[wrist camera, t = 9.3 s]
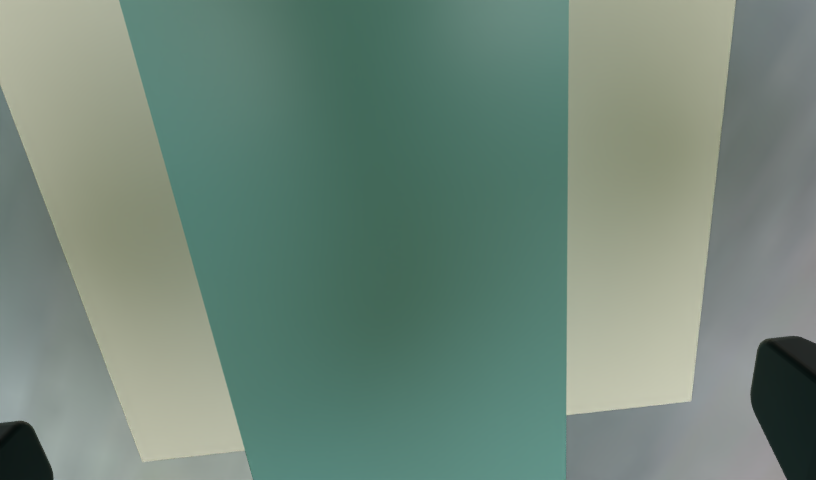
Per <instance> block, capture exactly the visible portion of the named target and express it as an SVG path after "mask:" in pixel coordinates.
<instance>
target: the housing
mask: <svg viewBox="0 0 816 480" xmlns="http://www.w3.org/2000/svg"><path fill="white" fill-rule="evenodd" d="M119 2H120V6H121V9H122V13H123V16H124V20H125V23H126V27H127V31H128V34H129V38H130V41H131V45H132V48H133V52H134V56H135V59H136V63H137V66H138V70H139V73H140V77H141V81H142V84H143V88H144V91H145V95H146V98H147V102H148V106H149V109H150V113H151V116H152V120H153V123H154V127H155V131H156V134H157V138H158V141H159V145H160V148H161V152H162V156H163V159H164V163H165V166H166V170H167V173H168V177H169V181H170V184H171V188H172V191H173V195H174V198H175V202H176V206H177V209H178V213H179V216H180V220H181V223H182V227H183V231H184V234H185V238H186V241H187V245H188V248H189V252H190V256H191V259H192V263H193V266H194V270H195V274H196V277H197V281H198V284H199V288H200V291H201V295H202V299H203V302H204V306H205V309H206V313H207V316H208V320H209V324H210V327H211V331H212V334H213V338H214V341H215V345H216V349H217V352H218V356H219V359H220V363H221V366H222V370H223V374H224V377H225V381H226V384H227V388H228V391H229V395H230V399H231V402H232V406H233V409H234V413H235V416H236V420H237V424H238V427H239V431H240V434H241V438H242V441H243V445H244V449H245V452H246V456H247V459H248V463H249V466H250V470H251V474H252V477H253V480H566V380H567V221H568V62H569V0H119Z"/></svg>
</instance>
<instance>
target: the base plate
mask: <svg viewBox="0 0 816 480" xmlns="http://www.w3.org/2000/svg"><path fill="white" fill-rule="evenodd" d="M735 4H736V0H569V62H568V221H567V380H566V415H572V414H581V413H590V412H599V411H608V410H617V409H626V408H635V407H644V406H653V405H662V404H671V403H680V402H689V401H691V397H692V388H693V379H694V370H695V361H696V352H697V344H698V335H699V326H700V317H701V308H702V299H703V290H704V281H705V272H706V263H707V254H708V245H709V236H710V227H711V218H712V209H713V200H714V191H715V182H716V174H717V165H718V156H719V147H720V138H721V129H722V120H723V111H724V102H725V93H726V84H727V75H728V66H729V57H730V48H731V39H732V30H733V21H734V12H735ZM0 85H1V88H2V90H3V93H4V96H5V98H6V101H7V104H8V106H9V109H10V112H11V114H12V117H13V120H14V122H15V125H16V128H17V130H18V133H19V136H20V138H21V141H22V144H23V146H24V149H25V152H26V154H27V157H28V159H29V162H30V165H31V167H32V170H33V173H34V175H35V178H36V181H37V183H38V186H39V189H40V191H41V194H42V197H43V199H44V202H45V205H46V207H47V210H48V213H49V215H50V218H51V221H52V223H53V226H54V229H55V231H56V234H57V237H58V239H59V242H60V244H61V247H62V250H63V252H64V255H65V258H66V260H67V263H68V266H69V268H70V271H71V274H72V276H73V279H74V282H75V284H76V287H77V290H78V292H79V295H80V298H81V300H82V303H83V306H84V308H85V311H86V314H87V316H88V319H89V322H90V324H91V327H92V330H93V332H94V335H95V337H96V340H97V343H98V345H99V348H100V351H101V353H102V356H103V359H104V361H105V364H106V367H107V369H108V372H109V375H110V377H111V380H112V383H113V385H114V388H115V391H116V393H117V396H118V399H119V401H120V404H121V407H122V409H123V412H124V415H125V417H126V420H127V422H128V425H129V428H130V430H131V433H132V436H133V438H134V441H135V444H136V446H137V449H138V452H139V454H140V457H141V460H142V462H147V461H156V460H165V459H174V458H183V457H192V456H201V455H210V454H219V453H228V452H237V451H245V449H244V445H243V441H242V438H241V434H240V431H239V427H238V424H237V420H236V416H235V413H234V409H233V406H232V402H231V399H230V395H229V391H228V388H227V384H226V381H225V377H224V374H223V370H222V366H221V363H220V359H219V356H218V352H217V349H216V345H215V341H214V338H213V334H212V331H211V327H210V324H209V320H208V316H207V313H206V309H205V306H204V302H203V299H202V295H201V291H200V288H199V284H198V281H197V277H196V274H195V270H194V266H193V263H192V259H191V256H190V252H189V248H188V245H187V241H186V238H185V234H184V231H183V227H182V223H181V220H180V216H179V213H178V209H177V206H176V202H175V198H174V195H173V191H172V188H171V184H170V181H169V177H168V173H167V170H166V166H165V163H164V159H163V156H162V152H161V148H160V145H159V141H158V138H157V134H156V131H155V127H154V123H153V120H152V116H151V113H150V109H149V106H148V102H147V98H146V95H145V91H144V88H143V84H142V81H141V77H140V73H139V70H138V66H137V63H136V59H135V56H134V52H133V48H132V45H131V41H130V38H129V34H128V31H127V27H126V23H125V20H124V16H123V13H122V9H121V6H120V2H119V0H0Z"/></svg>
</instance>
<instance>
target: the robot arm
mask: <svg viewBox="0 0 816 480" xmlns="http://www.w3.org/2000/svg"><path fill="white" fill-rule="evenodd" d="M750 395H751V403H752V407H753V410H754V413H755V415H756V417H757V419H758V421H759V423H760V425H761V427H762V429H763V431H764V434H765V436H766V438H767V440H768V442H769V444H770V446H771V448H772V450H773V452H774V454H775V456H776V458H777V460H778V462H779V464H780V466H781V468H782V470H783V473H784V475H785V477H786V479H787V480H816V343H813V342H811V341H809V340H806V339H804V338H802V337H798V336H787V337H778V338H769V339H765V340H764V341H762V342H761V343H760V345H759V347H758V350H757V355H756V361H755V367H754V373H753V379H752V385H751V394H750ZM0 480H53V471H52V468H51V465H50V463H49V461H48V459H47V457H46V454H45V452H44V450H43V448H42V446H41V444H40V441H39V439H38V437H37V435H36V433H35V431H34V429H33V427H32V426H31V425H30V424H29V423H27V422H24V421H14V422H5V423H0Z"/></svg>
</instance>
